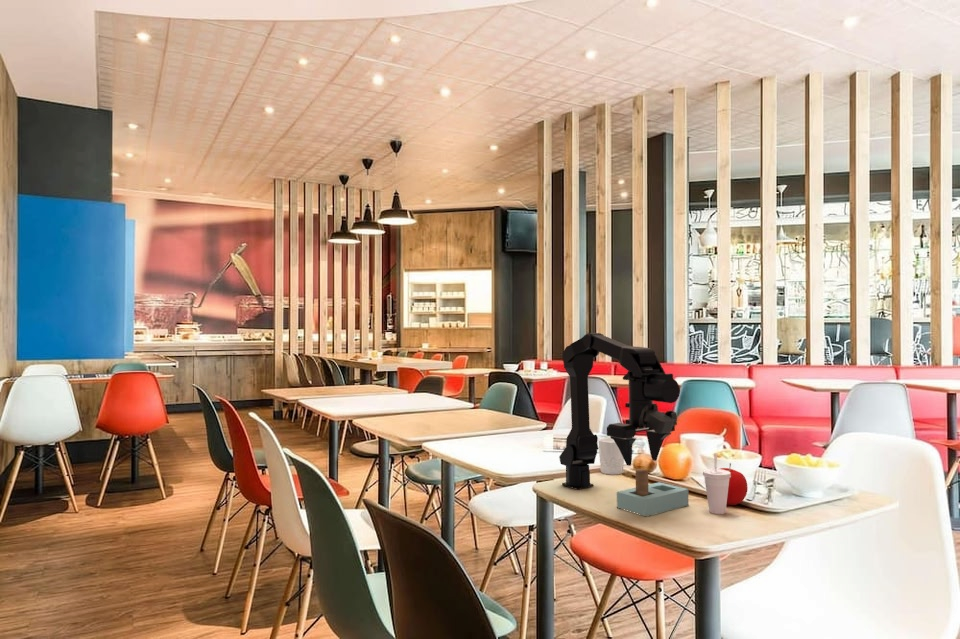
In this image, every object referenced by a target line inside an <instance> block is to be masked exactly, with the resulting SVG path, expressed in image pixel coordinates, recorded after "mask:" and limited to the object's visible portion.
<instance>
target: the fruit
mask: <svg viewBox="0 0 960 639" xmlns="http://www.w3.org/2000/svg"><path fill="white" fill-rule="evenodd" d="M731 466H732V463H731V462H729V468H728V467H720V468H719V469H722V470H726V471H729V472H730V473H731V477H730V478H729V487H728V495H727V504H726V506H736V505H739V504H740V503H741V502H743V501H744V499H745V498H746V496H747V493H748V482H747V481H748V480H747V479H746V477H745V475H744V474H743V473H742V472H741V471H737V470H735V469H732V468H731Z"/></svg>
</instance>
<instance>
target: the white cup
mask: <svg viewBox="0 0 960 639" xmlns="http://www.w3.org/2000/svg"><path fill="white" fill-rule="evenodd" d="M598 448H599V449H598V453H599V454H598V455H599V464H600V466H599V468H600V472H601V473H602V474H605V475H611V476H613V475H622V474H623V473H624V462H625V460H624V458H623V456H622V454H621V452H620V450H619V448H618V446H617V445H616V443H615V441H614V440H613V439H611V437H601V438H598Z"/></svg>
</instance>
